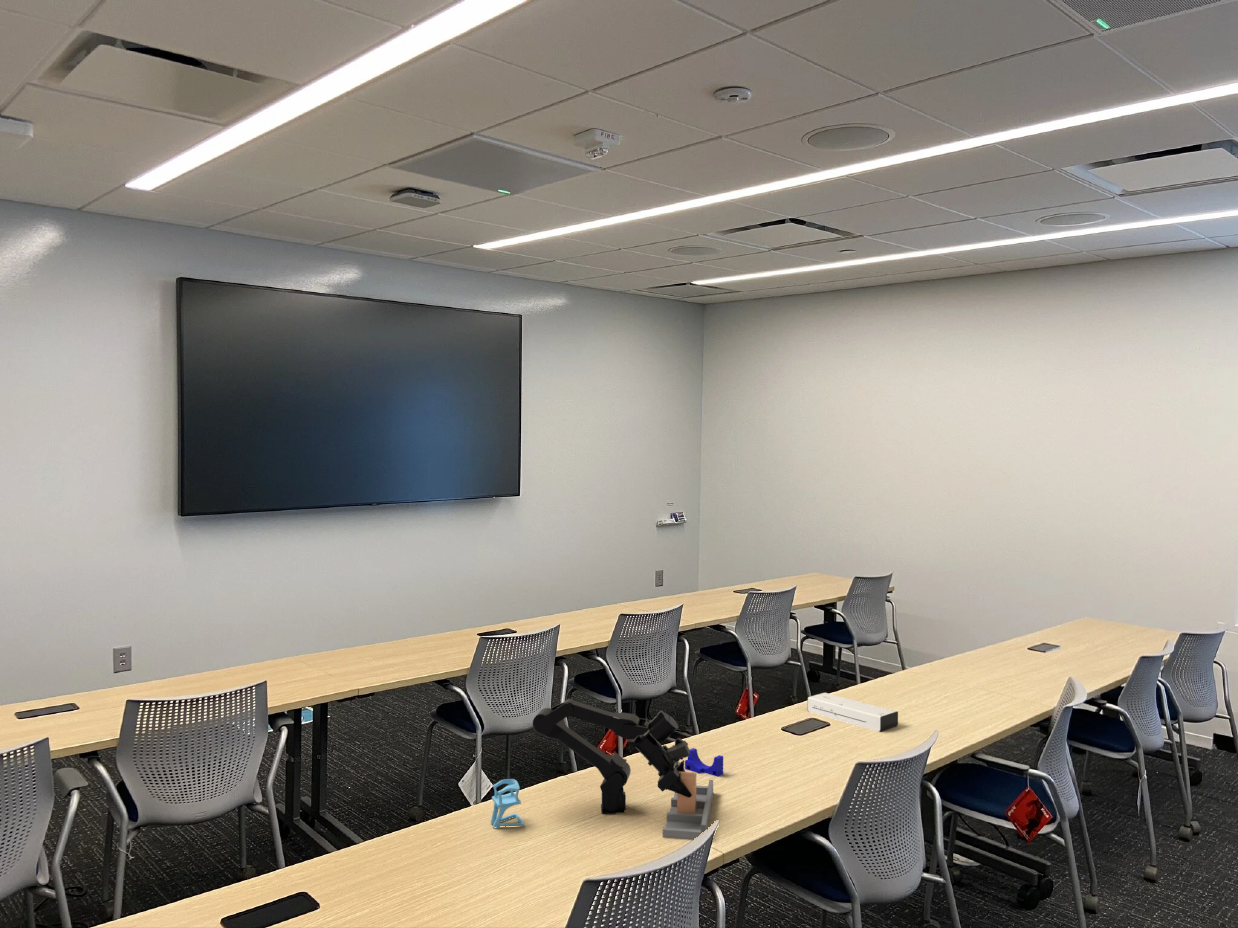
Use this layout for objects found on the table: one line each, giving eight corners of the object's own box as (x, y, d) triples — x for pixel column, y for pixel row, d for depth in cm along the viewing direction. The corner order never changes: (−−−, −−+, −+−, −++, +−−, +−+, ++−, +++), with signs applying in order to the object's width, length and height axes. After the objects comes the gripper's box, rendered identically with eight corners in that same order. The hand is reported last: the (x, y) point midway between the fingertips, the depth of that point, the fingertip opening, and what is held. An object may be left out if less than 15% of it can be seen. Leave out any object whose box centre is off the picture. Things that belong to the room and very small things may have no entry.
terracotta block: (677, 816, 251) (677, 777, 251) (678, 809, 256) (679, 771, 256) (694, 817, 250) (694, 778, 250) (696, 810, 255) (696, 772, 255)
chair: (488, 821, 249) (487, 778, 249) (516, 816, 252) (516, 774, 252) (495, 832, 242) (495, 788, 242) (524, 826, 245) (524, 783, 245)
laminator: (807, 712, 355) (807, 697, 355) (826, 706, 363) (826, 691, 362) (880, 733, 328) (880, 716, 328) (899, 726, 336) (899, 710, 336)
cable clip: (684, 769, 290) (684, 751, 290) (693, 765, 293) (693, 747, 293) (715, 778, 282) (715, 759, 282) (723, 774, 285) (723, 756, 285)
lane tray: (662, 838, 238) (662, 821, 238) (675, 791, 270) (675, 777, 270) (705, 841, 236) (705, 825, 236) (713, 794, 268) (713, 779, 268)
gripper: (669, 743, 244) (709, 785, 243) (676, 722, 263) (713, 762, 261) (641, 769, 246) (680, 812, 244) (650, 747, 264) (687, 787, 262)
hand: (691, 792), depth 253 cm, fingers open, 6 cm apart
